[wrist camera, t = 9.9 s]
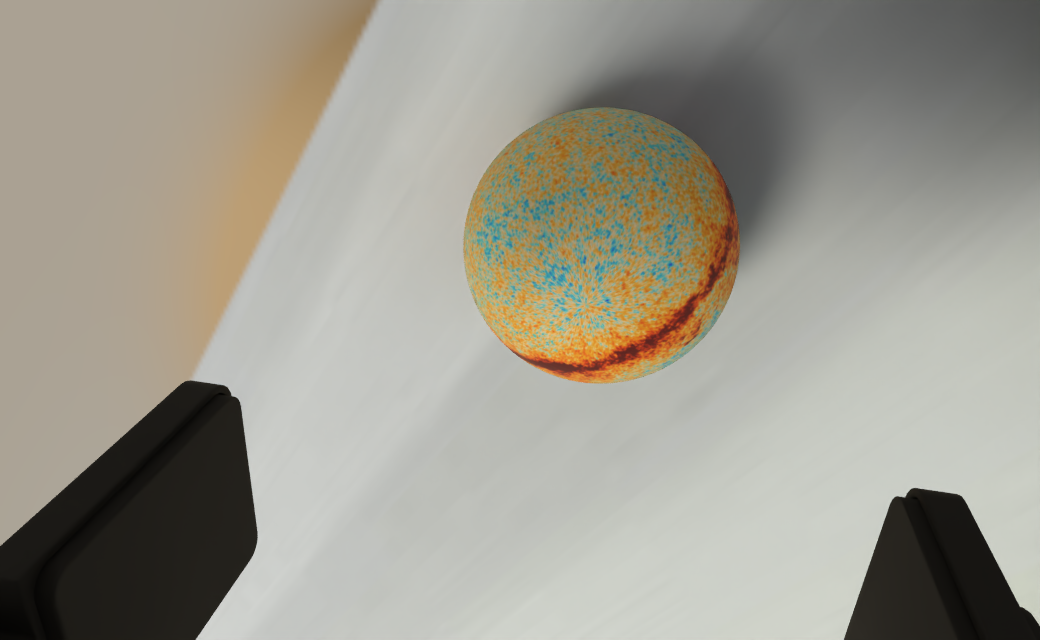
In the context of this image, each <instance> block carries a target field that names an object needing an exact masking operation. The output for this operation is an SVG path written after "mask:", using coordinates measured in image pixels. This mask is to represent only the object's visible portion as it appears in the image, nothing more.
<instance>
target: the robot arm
mask: <svg viewBox="0 0 1040 640" xmlns="http://www.w3.org/2000/svg"><path fill="white" fill-rule="evenodd" d="M257 538H258V537H257V526H256V518H255V510H254V503H253V495H252V488H251V480H250V472H249V465H248V457H247V450H246V442H245V434H244V427H243V419H242V411H241V405H240V402H239V400H238V398H236V397H232V396H231V392H230V391H229V389H228V388H227V387H226V386H224V385H217V384H211V383H204V382H197V381H185V382H184V383H182V384H181V385H180V386H178V387H177V388H176V389H175V390H174V391H173V392H172V393H171V394H169V395H168V396H167V397H166V398H165V399H164V400H163V401H162V402H161V403H160V404H158V405H157V406H156V407H155V408H154V409H153V410H152V411H151V412H149V413H148V414H147V415H146V416H145V417H144V418H143V419H142V420H141V421H139V422H138V423H137V424H136V425H135V426H134V427H133V428H132V429H130V430H129V431H128V432H127V433H126V434H125V435H124V436H123V437H122V438H120V439H119V440H118V441H117V442H116V443H115V444H114V445H113V446H112V447H110V448H109V449H108V450H107V451H106V452H105V453H104V454H103V455H101V456H100V457H99V458H98V459H97V460H96V461H95V462H94V463H93V464H91V465H90V466H89V467H88V468H87V469H86V470H85V471H84V472H82V473H81V474H80V475H79V476H78V477H77V478H76V479H75V480H74V481H72V482H71V483H70V484H69V485H68V486H67V487H66V488H65V489H64V490H62V491H61V492H60V493H59V494H58V495H57V496H56V497H55V498H53V499H52V500H51V501H50V502H49V503H48V504H47V505H46V506H45V507H44V508H42V509H41V510H40V511H39V512H38V513H37V514H36V515H35V516H33V517H32V518H31V519H30V520H29V521H28V522H27V523H26V524H25V525H23V527H21V528H20V529H19V530H18V531H17V532H16V533H14V534H13V535H12V536H11V537H10V538H9V539H8V540H7V541H6V542H5V543H3V545H1V546H0V640H196V638H197V637H198V635H199V634H200V632H201V631H202V629H203V628H204V627H205V625H206V624H207V622H208V621H209V619H210V618H211V616H212V615H213V613H214V612H215V610H216V609H217V608H218V606H219V605H220V603H221V602H222V600H223V599H224V597H225V596H226V594H227V593H228V592H229V590H230V589H231V587H232V586H233V584H234V583H235V581H236V580H237V578H238V577H239V576H240V574H241V573H242V571H243V570H244V568H245V567H246V565H247V564H248V562H249V561H250V559H251V558H252V556H253V554H254V551H255V548H256V544H257ZM844 640H1040V626H1039V624H1038V623H1037V621H1036V620H1035V618H1034V617H1033V616H1032V614H1031V613H1030V612H1028V611H1027V610H1025V609H1024V608H1023V607H1020V606H1019V604H1018V602H1017V600H1016V599H1015V597H1014V595H1013V593H1012V591H1011V589H1010V587H1009V585H1008V583H1007V581H1006V579H1005V577H1004V575H1003V573H1002V571H1001V569H1000V568H999V566H998V564H997V562H996V560H995V558H994V556H993V554H992V552H991V550H990V548H989V546H988V544H987V542H986V540H985V539H984V537H983V535H982V533H981V531H980V529H979V527H978V525H977V523H976V521H975V519H974V517H973V515H972V513H971V511H970V509H969V508H968V506H967V504H966V502H965V500H964V499H963V498H962V496H960V495H958V494H952V493H945V492H938V491H932V490H925V489H918V488H913V489H911V490H910V491H909V492H908V493H907V495H906V497H898V496H897V497H894V499H893V500H892V502H891V504H890V506H889V509H888V512H887V515H886V518H885V521H884V524H883V527H882V530H881V532H880V535H879V538H878V541H877V544H876V547H875V550H874V553H873V556H872V559H871V562H870V565H869V567H868V570H867V573H866V576H865V579H864V582H863V585H862V588H861V591H860V594H859V597H858V600H857V602H856V605H855V608H854V611H853V614H852V617H851V620H850V623H849V626H848V629H847V632H846V635H845V638H844Z"/></svg>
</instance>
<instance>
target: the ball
mask: <svg viewBox="0 0 1040 640" xmlns="http://www.w3.org/2000/svg"><path fill="white" fill-rule="evenodd" d="M739 254H740V235H739V225H738V219H737V214H736V210H735V206H734V203H733V200H732V197H731V194H730V192H729V189H728V187H727V185H726V183H725V181H724V179H723V177H722V176H721V174H720V172H719V171H718V169H717V168H716V166H715V165H714V163H713V162H712V161H711V159H710V158H709V157H708V156H707V154H706V153H705V152H704V151H703V150H702V149H701V148H700V147H699V146H698V145H697V144H696V143H695V142H694V141H692V140H691V139H690V138H689V137H688V136H686V135H685V134H684V133H682V132H681V131H679V130H678V129H676V128H675V127H673V126H671V125H670V124H668V123H666V122H664V121H662V120H660V119H657V118H655V117H652V116H650V115H647V114H644V113H640V112H637V111H632V110H627V109H621V108H609V107H597V108H585V109H579V110H574V111H570V112H566V113H562V114H559V115H556V116H553V117H551V118H549V119H546V120H544V121H542V122H540V123H538V124H536V125H534V126H533V127H531V128H529V129H528V130H526V131H525V132H523V133H522V134H521V135H519V136H518V137H517V138H515V139H514V140H513V141H512V142H511V143H509V144H508V145H507V146H506V147H505V148H504V149H503V150H502V151H501V152H500V154H499V155H498V156H497V157H496V158H495V159H494V161H493V162H492V163H491V165H490V166H489V167H488V169H487V170H486V172H485V173H484V175H483V177H482V179H481V180H480V182H479V184H478V186H477V188H476V190H475V193H474V195H473V198H472V200H471V203H470V207H469V210H468V214H467V218H466V223H465V230H464V263H465V270H466V275H467V280H468V283H469V287H470V290H471V293H472V295H473V298H474V301H475V303H476V305H477V307H478V309H479V311H480V313H481V315H482V316H483V318H484V320H485V321H486V323H487V324H488V326H489V327H490V328H491V330H492V331H493V332H494V333H495V335H496V336H497V337H498V338H499V339H500V340H501V341H502V342H503V343H504V344H505V345H506V346H507V347H508V348H509V349H510V350H511V351H512V352H513V353H515V354H516V355H517V356H519V357H520V358H521V359H523V360H524V361H526V362H527V363H529V364H531V365H532V366H534V367H536V368H538V369H540V370H542V371H544V372H547V373H549V374H552V375H554V376H557V377H560V378H564V379H568V380H572V381H577V382H584V383H616V382H623V381H629V380H633V379H637V378H640V377H644V376H647V375H649V374H652V373H654V372H656V371H659V370H661V369H663V368H665V367H667V366H669V365H670V364H672V363H674V362H675V361H677V360H678V359H680V358H681V357H683V356H684V355H685V354H687V353H688V352H689V351H690V350H691V349H692V348H694V347H695V346H696V345H697V344H698V343H699V342H700V341H701V340H702V339H703V338H704V337H705V335H706V334H707V333H708V332H709V331H710V329H711V328H712V327H713V325H714V324H715V322H716V321H717V319H718V318H719V316H720V315H721V313H722V311H723V309H724V307H725V305H726V303H727V301H728V299H729V296H730V294H731V291H732V288H733V285H734V282H735V278H736V274H737V269H738V263H739Z"/></svg>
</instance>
